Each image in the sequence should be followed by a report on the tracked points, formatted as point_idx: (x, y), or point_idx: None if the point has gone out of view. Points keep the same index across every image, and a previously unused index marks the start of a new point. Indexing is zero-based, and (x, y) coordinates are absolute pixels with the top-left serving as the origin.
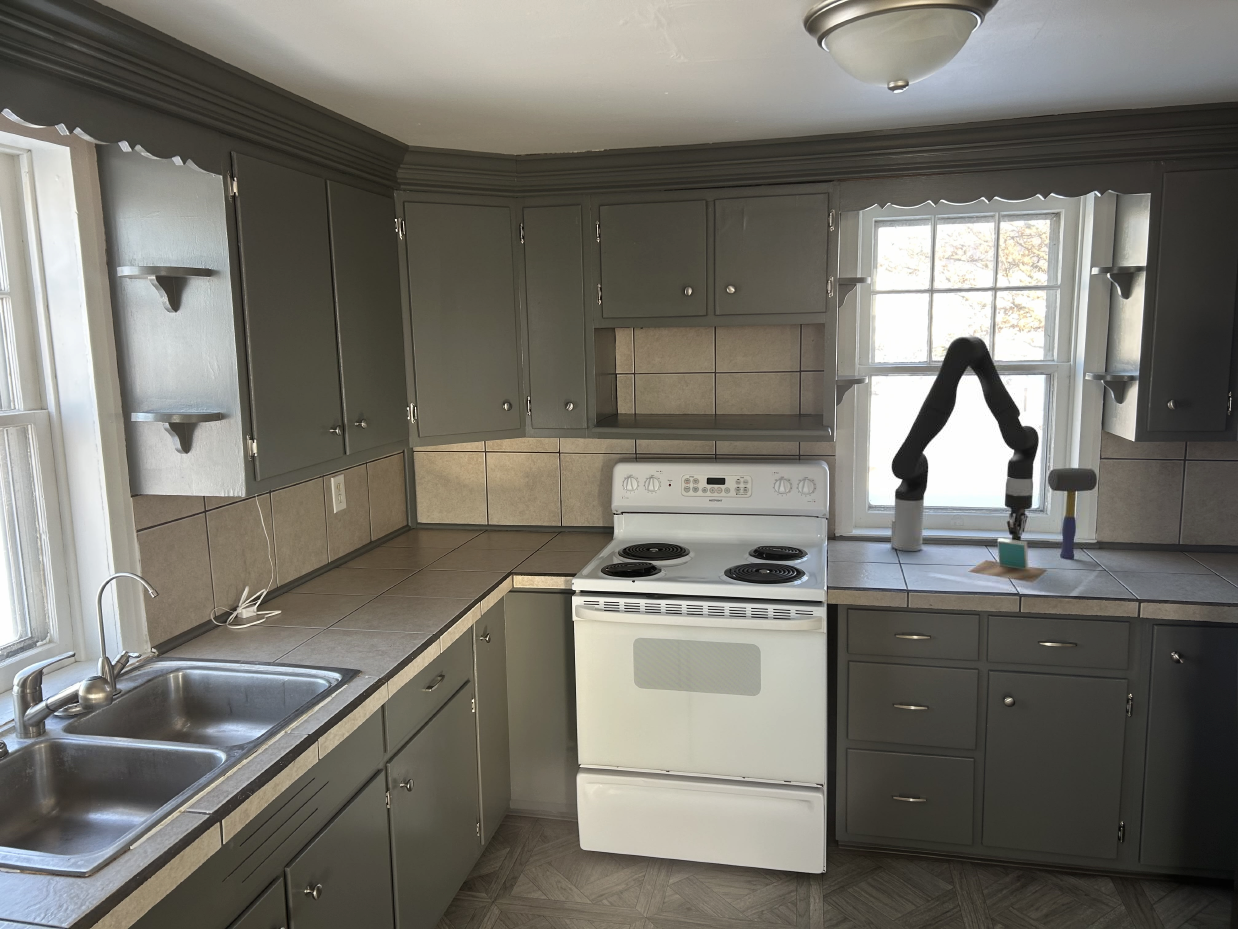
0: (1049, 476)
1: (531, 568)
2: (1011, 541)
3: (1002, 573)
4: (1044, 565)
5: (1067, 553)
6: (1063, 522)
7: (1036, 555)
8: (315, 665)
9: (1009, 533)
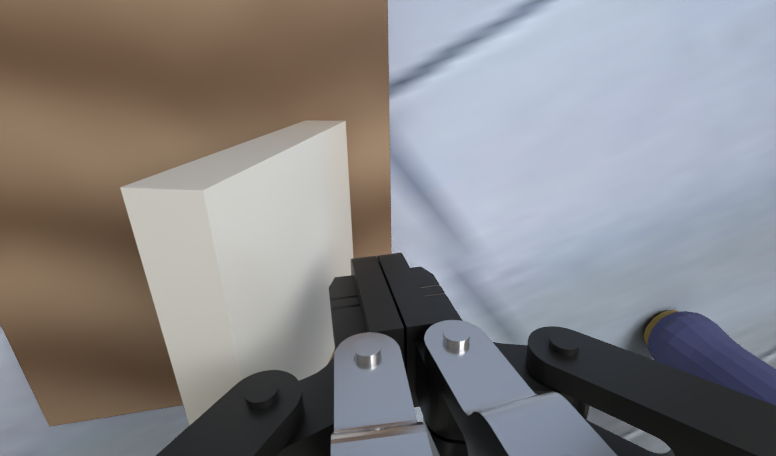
0: None
1: None
2: (198, 366)
3: (82, 226)
4: (542, 286)
5: (677, 367)
6: None
7: (729, 183)
8: None
9: (218, 403)
